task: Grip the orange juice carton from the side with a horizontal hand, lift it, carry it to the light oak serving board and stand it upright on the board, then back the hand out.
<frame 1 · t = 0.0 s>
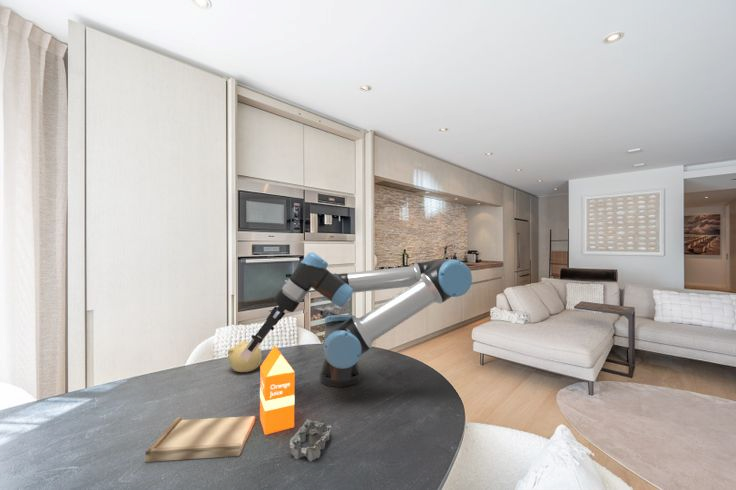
hand: (249, 351, 96), 15 cm above the table, tool tilted 35°, fingers open, 13 cm apart
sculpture: (245, 369, 120), on the table
orange juice: (276, 423, 83), on the table
serving board: (206, 439, 76), on the table
egg carton: (310, 447, 74), on the table
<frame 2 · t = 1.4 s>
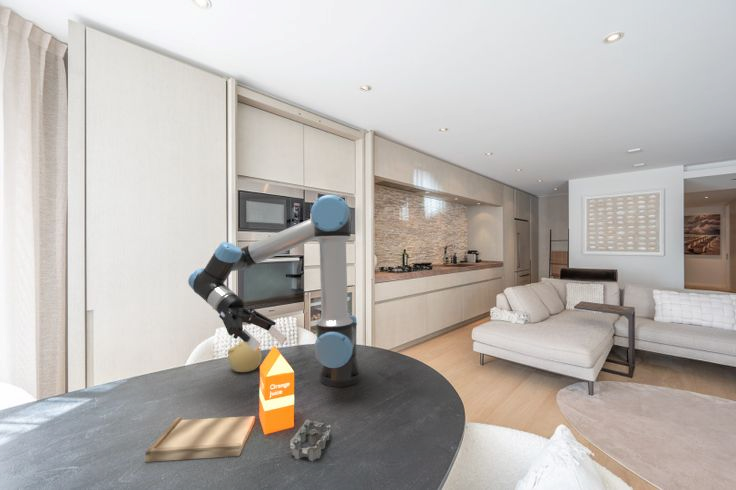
hand: (272, 343, 91), 19 cm above the table, tool tilted 60°, fingers open, 13 cm apart
nothing on the table moved.
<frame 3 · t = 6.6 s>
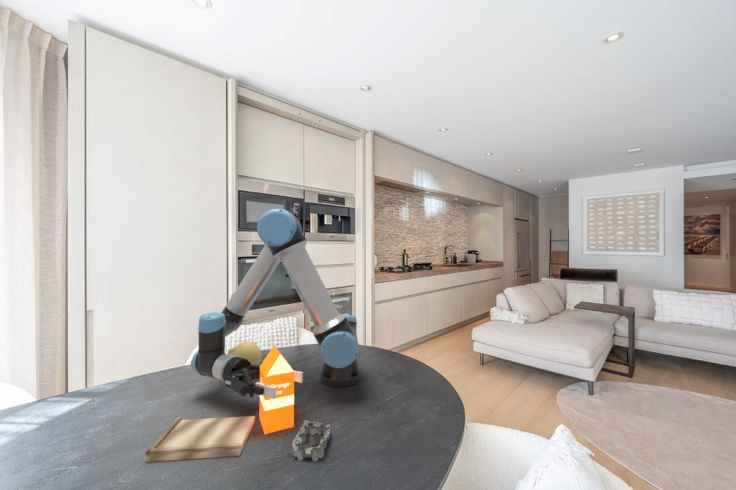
hand: (289, 385, 82), 11 cm above the table, tool horizontal, fingers closed on orange juice, 10 cm apart
orange juice: (276, 422, 84), on the table, touching gripper
everything else where it was.
when the fingers open (14 cm above the table, at t = 10.3 s): orange juice drops 1 cm, resting on serving board.
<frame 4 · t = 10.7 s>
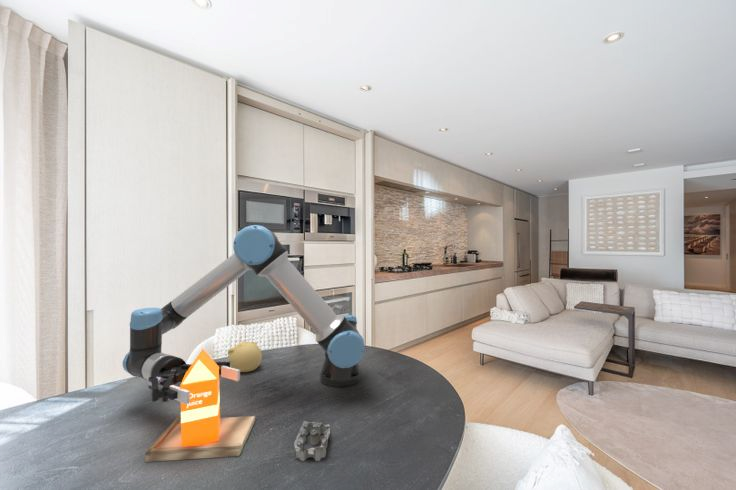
hand: (215, 385, 74), 14 cm above the table, tool horizontal, fingers open, 13 cm apart
orange juice: (202, 435, 75), point 1 cm above the table, touching gripper, serving board
everything else where it was.
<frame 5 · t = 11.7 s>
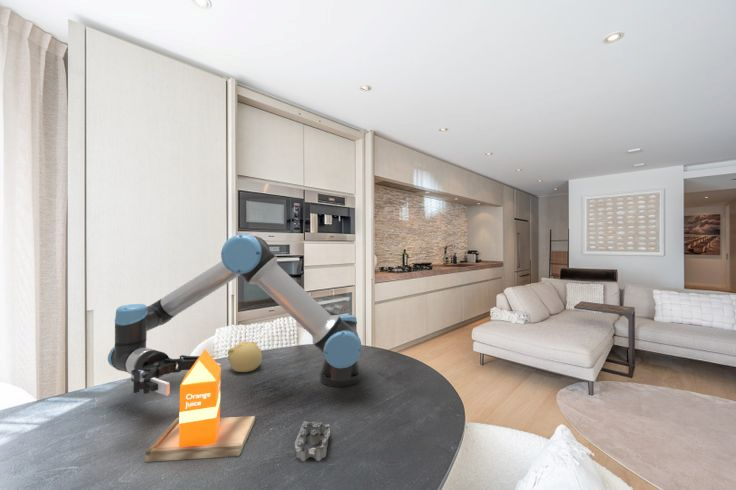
hand: (195, 378, 77), 14 cm above the table, tool horizontal, fingers open, 13 cm apart
orange juice: (201, 436, 75), point 1 cm above the table, touching serving board
everything else where it was.
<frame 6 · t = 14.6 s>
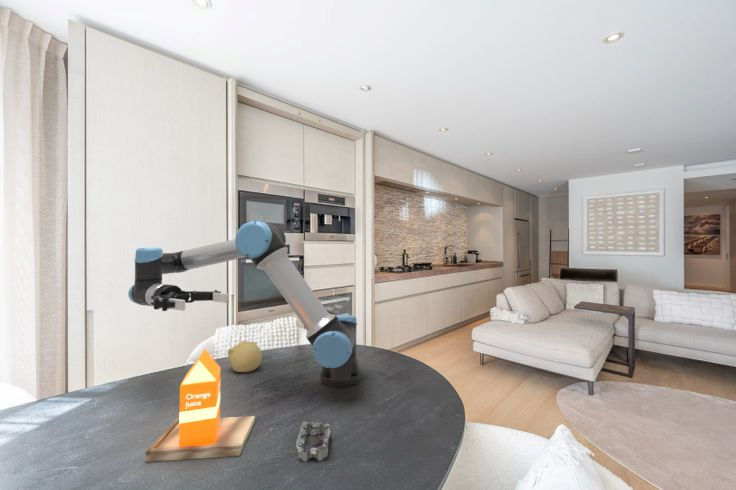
hand: (207, 301, 89), 32 cm above the table, tool horizontal, fingers open, 13 cm apart
at the end: orange juice inside the target area on the serving board (1.2 cm from its centre), point 1.3 cm above the serving board's base; orange juice tilted 0°; the gripper is holding nothing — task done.
